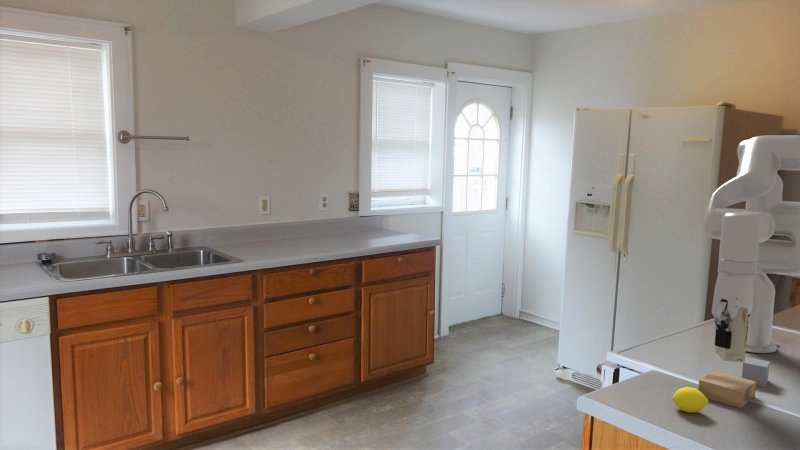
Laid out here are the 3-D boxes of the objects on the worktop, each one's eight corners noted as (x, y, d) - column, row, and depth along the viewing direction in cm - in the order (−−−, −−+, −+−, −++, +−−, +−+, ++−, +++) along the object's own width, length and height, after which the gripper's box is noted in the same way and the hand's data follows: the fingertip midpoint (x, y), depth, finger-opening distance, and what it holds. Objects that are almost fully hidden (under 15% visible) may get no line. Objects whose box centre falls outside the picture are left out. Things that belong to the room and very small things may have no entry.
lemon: (672, 415, 126) (669, 390, 125) (674, 405, 130) (672, 382, 130) (708, 418, 122) (706, 393, 122) (710, 409, 127) (708, 384, 126)
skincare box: (745, 363, 130) (749, 309, 128) (723, 361, 130) (728, 308, 129) (734, 353, 136) (739, 302, 134) (714, 352, 137) (718, 301, 135)
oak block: (713, 386, 141) (714, 370, 140) (754, 398, 134) (756, 381, 134) (697, 396, 135) (699, 379, 134) (740, 409, 128) (742, 392, 128)
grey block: (744, 376, 147) (746, 356, 146) (767, 381, 144) (769, 361, 143) (741, 382, 143) (743, 362, 142) (765, 387, 140) (767, 367, 139)
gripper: (737, 261, 139) (730, 333, 141) (701, 268, 128) (695, 346, 131) (771, 266, 133) (764, 341, 135) (737, 274, 122) (730, 356, 125)
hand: (730, 343), depth 133 cm, fingers closed on skincare box, 7 cm apart
